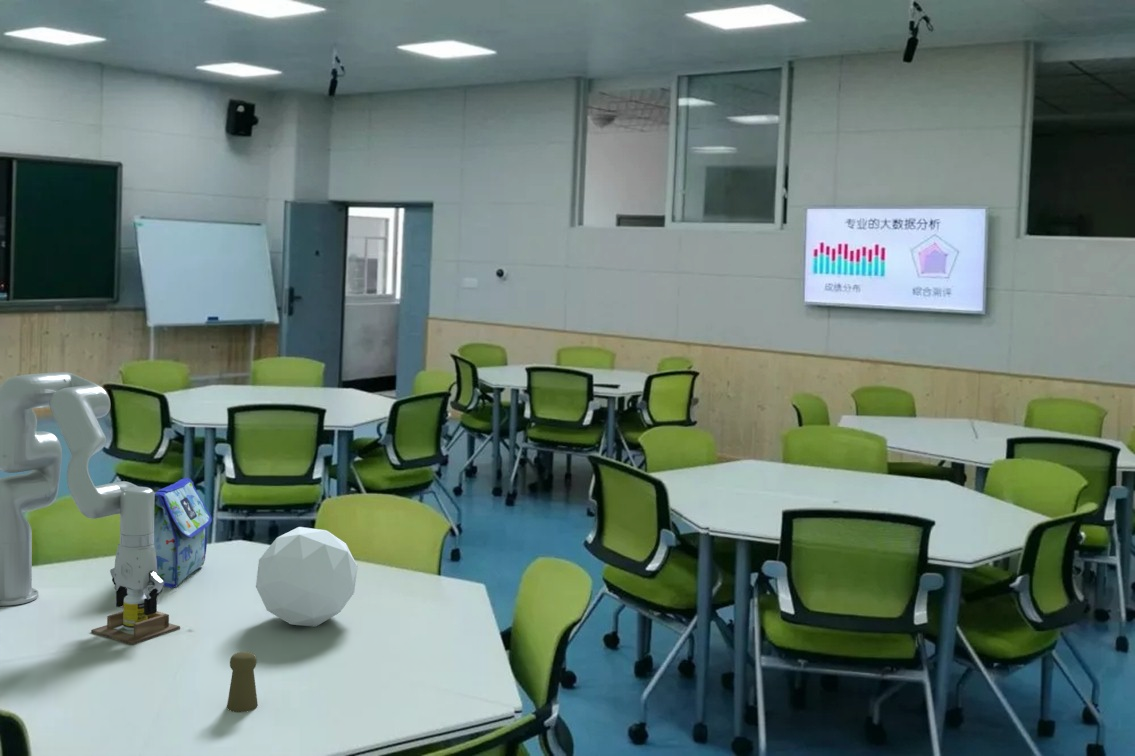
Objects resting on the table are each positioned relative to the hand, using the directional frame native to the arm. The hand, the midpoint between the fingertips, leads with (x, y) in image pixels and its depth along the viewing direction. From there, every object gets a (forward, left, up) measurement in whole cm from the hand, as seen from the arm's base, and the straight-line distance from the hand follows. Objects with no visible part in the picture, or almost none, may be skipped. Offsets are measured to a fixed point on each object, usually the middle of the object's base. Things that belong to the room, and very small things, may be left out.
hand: (136, 609), depth 261 cm
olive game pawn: (+52, -17, -5) cm, 55 cm away
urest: (0, 0, -5) cm, 5 cm away
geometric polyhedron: (+27, +29, -5) cm, 40 cm away
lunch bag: (-28, +35, -5) cm, 45 cm away
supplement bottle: (0, 0, -4) cm, 5 cm away
